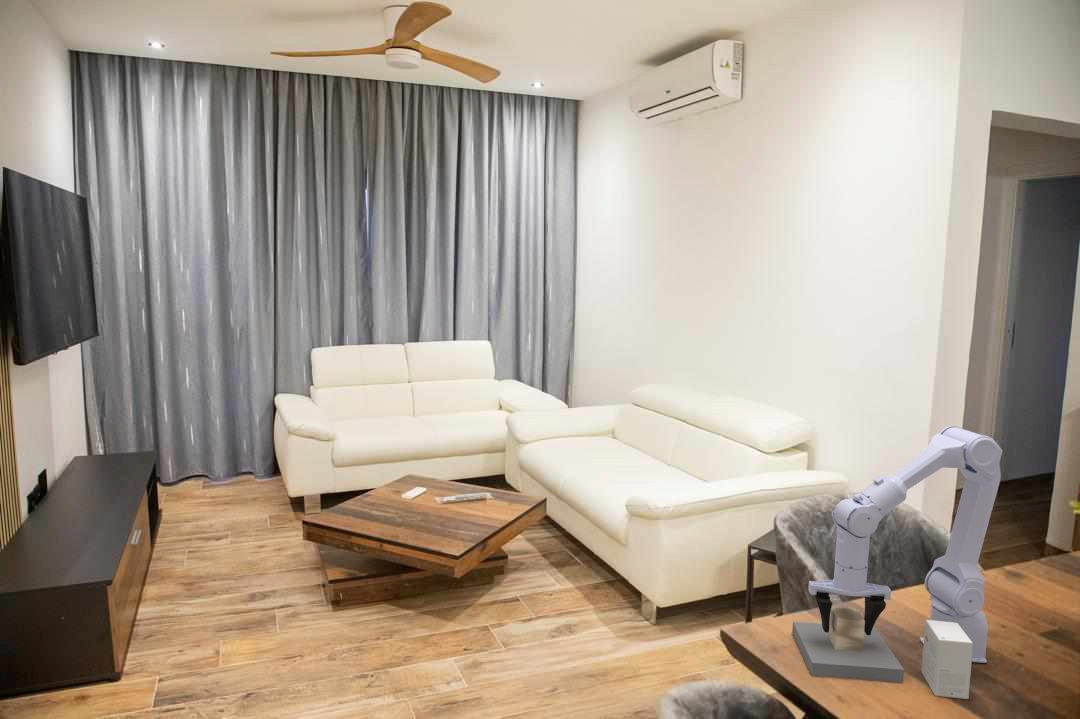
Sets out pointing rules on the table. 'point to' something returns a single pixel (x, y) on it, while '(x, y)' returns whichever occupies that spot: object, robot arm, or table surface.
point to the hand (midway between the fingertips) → (846, 631)
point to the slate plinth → (846, 656)
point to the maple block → (846, 629)
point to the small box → (947, 659)
